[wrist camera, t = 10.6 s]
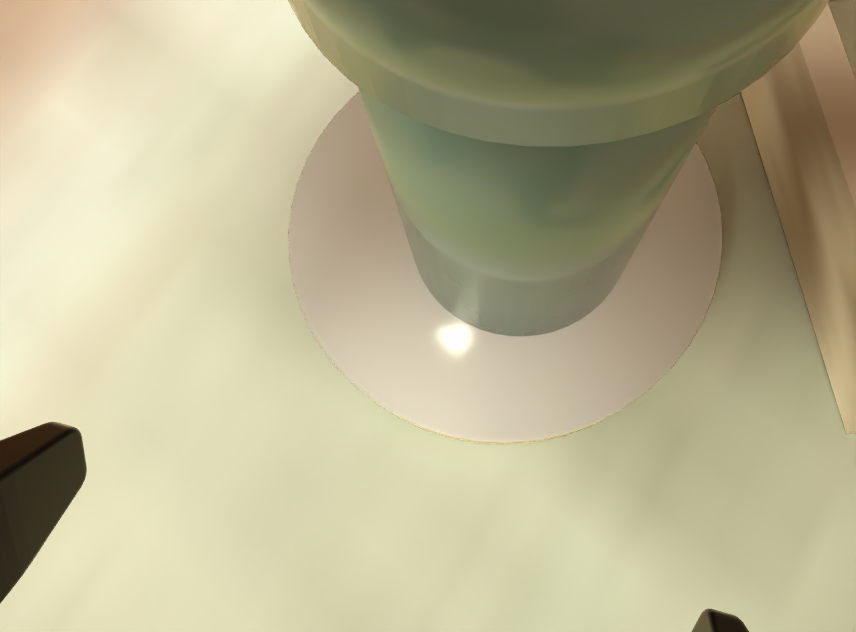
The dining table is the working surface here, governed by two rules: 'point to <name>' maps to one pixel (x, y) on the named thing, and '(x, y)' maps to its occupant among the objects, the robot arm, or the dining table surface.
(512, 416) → the saucer
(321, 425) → the dining table surface
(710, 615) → the robot arm
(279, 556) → the dining table surface
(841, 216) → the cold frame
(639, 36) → the flower pot
